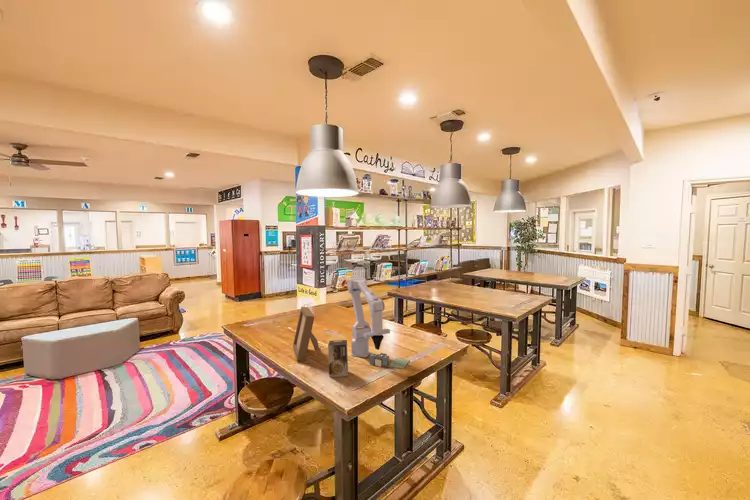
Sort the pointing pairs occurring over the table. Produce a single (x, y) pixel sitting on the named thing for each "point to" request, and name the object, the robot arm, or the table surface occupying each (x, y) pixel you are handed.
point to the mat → (399, 363)
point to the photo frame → (304, 334)
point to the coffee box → (338, 358)
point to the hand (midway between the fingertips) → (377, 348)
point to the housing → (384, 358)
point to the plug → (379, 360)
